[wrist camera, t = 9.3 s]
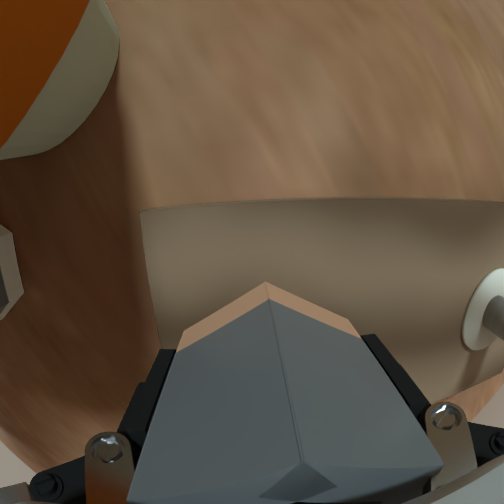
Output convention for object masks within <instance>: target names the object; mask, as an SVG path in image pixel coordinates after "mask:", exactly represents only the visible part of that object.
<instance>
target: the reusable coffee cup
mask: <svg viewBox="0 0 504 504" xmlns="http://www.w3.org/2000/svg"><path fill="white" fill-rule="evenodd" d="M119 44H120V41H119V31H118V28H117V25H116V23H115V21H114V19H113V17H112V15H111V13H110V11H109V9H108V7H107V5H106V3H105V2H104V0H0V160H5V159H10V158H16V157H22V156H29V155H36V154H39V153H42V152H45V151H48V150H50V149H52V148H53V147H55V146H57V145H59V144H60V143H62V142H63V141H64V140H65V139H66V138H68V137H69V136H70V135H72V134H73V133H74V132H75V131H76V129H77V128H78V127H79V126H80V125H81V124H82V123H83V122H84V121H85V120H86V119H87V117H88V116H89V114H90V113H91V112H92V111H93V109H94V108H95V107H96V105H97V103H98V102H99V100H100V98H101V97H102V95H103V93H104V92H105V90H106V88H107V86H108V83H109V81H110V79H111V77H112V75H113V72H114V69H115V65H116V62H117V58H118V52H119Z"/></svg>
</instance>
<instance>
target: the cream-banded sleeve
mask: <svg viewBox="0 0 504 504" xmlns="http://www.w3.org/2000/svg"><path fill="white" fill-rule="evenodd" d="M23 294H24V289H23V285H22V281H21V277H20V272H19V268H18V263H17V258H16V253H15V247H14V241H13V234H12V232H10V231H9V230H8V229H6V228H5V227H4V226H2V225H1V224H0V320H1V319H3V318H4V317H5V316H6V315H7V313H8V312H9V311H10V310H11V308H12V307H13V306H14V305H15V303H16V302H17V301H18V300H19V298H20V297H21V296H22V295H23Z"/></svg>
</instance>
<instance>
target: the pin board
mask: <svg viewBox="0 0 504 504" xmlns="http://www.w3.org/2000/svg"><path fill="white" fill-rule="evenodd" d="M139 213H140V222H141V231H142V240H143V247H144V255H145V262H146V269H147V275H148V281H149V287H150V293H151V299H152V304H153V309H154V314H155V319H156V324H157V329H158V334H159V338H160V343H161V347H162V349H176V350H177V348H178V346H179V343H180V340H181V337H182V335H183V332H184V330H186V329H188V328H189V327H191V326H193V325H194V324H196V323H198V322H200V321H201V320H203V319H205V318H206V317H208V316H210V315H211V314H213V313H215V312H216V311H218V310H220V309H221V308H223V307H225V306H226V305H228V304H230V303H231V302H233V301H235V300H236V299H238V298H239V297H241V296H243V295H244V294H246V293H248V292H249V291H251V290H253V289H254V288H256V287H257V286H259V285H261V284H262V283H264V282H265V281H266V282H268V283H270V284H272V285H274V286H276V287H278V288H280V289H283V290H285V291H287V292H289V293H291V294H293V295H296V296H298V297H300V298H302V299H304V300H306V301H309V302H311V303H313V304H315V305H317V306H320V307H322V308H324V309H326V310H328V311H331V312H333V313H335V314H337V315H339V316H342V317H344V318H346V319H348V320H349V322H350V323H351V324H352V326H353V327H354V329H355V330H356V331H357V333H358V334H359V336H361V335H367V334H375V335H376V336H377V337H378V338H379V339H380V341H381V342H382V343H383V344H384V346H385V347H386V348H387V349H388V351H389V352H390V353H391V354H392V356H393V357H394V358H395V360H396V361H397V362H398V363H399V364H400V365H401V366H402V367H403V368H404V370H405V371H406V372H407V373H408V375H409V376H410V377H411V379H412V380H413V381H414V383H415V384H416V385H417V386H418V388H419V389H420V390H421V392H422V393H423V394H424V396H425V397H426V398H427V400H428V401H429V402H430V403H433V402H436V401H439V400H441V399H444V398H446V397H449V396H451V395H454V394H456V393H459V392H461V391H463V390H466V389H468V388H470V387H472V386H475V385H477V384H479V383H481V382H483V381H485V380H487V379H489V378H491V377H493V376H495V375H497V374H499V373H501V372H502V370H503V368H504V202H493V201H479V200H462V199H440V198H405V197H332V198H295V199H271V200H252V201H235V202H220V203H206V204H194V205H182V206H171V207H161V208H151V209H148V210H145V211H141V212H139Z"/></svg>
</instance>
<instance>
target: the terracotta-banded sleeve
mask: <svg viewBox="0 0 504 504" xmlns="http://www.w3.org/2000/svg"><path fill="white" fill-rule="evenodd" d="M444 466H445V464H444V462H443V461H442V459H441V457H440V456H439V454H438V453H437V451H436V449H435V448H434V446H433V445H432V443H431V441H430V440H429V438H428V437H427V435H426V433H425V432H424V430H423V429H422V427H421V426H420V424H419V422H418V421H417V419H416V418H415V416H414V415H413V413H412V412H411V410H410V409H409V407H408V406H407V404H406V403H405V401H404V400H403V398H402V397H401V395H400V394H399V392H398V391H397V389H396V388H395V386H394V385H393V383H392V382H391V380H390V379H389V377H388V376H387V374H386V373H385V371H384V370H383V368H382V367H381V366H380V364H379V363H378V361H377V360H376V358H375V357H374V355H373V354H372V353H371V351H370V350H369V348H368V347H367V345H366V344H365V343H364V341H363V340H362V338H361V337H360V336H359V334H358V333H357V331H356V330H355V329H354V327H353V326H352V324H351V323H350V322H349V320H348V319H346V318H344V317H342V316H339V315H337V314H335V313H333V312H331V311H328V310H326V309H324V308H322V307H320V306H317V305H315V304H313V303H311V302H309V301H306V300H304V299H302V298H300V297H298V296H296V295H293V294H291V293H289V292H287V291H285V290H283V289H280V288H278V287H276V286H274V285H272V284H270V283H268V282H266V281H265V282H264V283H262V284H261V285H259V286H257V287H256V288H254V289H253V290H251V291H249V292H248V293H246V294H244V295H243V296H241V297H239V298H238V299H236V300H235V301H233V302H231V303H230V304H228V305H226V306H225V307H223V308H221V309H220V310H218V311H216V312H215V313H213V314H211V315H210V316H208V317H206V318H205V319H203V320H201V321H200V322H198V323H196V324H194V325H193V326H191V327H189V328H188V329H186V330H184V332H183V335H182V337H181V340H180V343H179V346H178V348H177V351H176V354H175V356H174V359H173V362H172V364H171V367H170V370H169V373H168V376H167V378H166V381H165V384H164V387H163V390H162V392H161V395H160V398H159V401H158V404H157V407H156V410H155V412H154V415H153V418H152V421H151V424H150V427H149V430H148V433H147V436H146V439H145V442H144V445H143V448H142V451H141V454H140V458H139V461H138V464H137V467H136V470H135V473H134V477H133V480H132V483H131V486H130V490H129V493H128V496H127V500H126V501H127V502H128V503H129V504H402V503H404V502H407V501H410V500H412V499H415V498H417V497H419V496H421V495H422V494H423V493H422V488H423V486H424V485H425V484H426V482H427V481H428V480H429V479H430V477H432V476H434V475H436V474H438V473H439V472H440V471H441V469H442V468H443V467H444Z"/></svg>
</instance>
